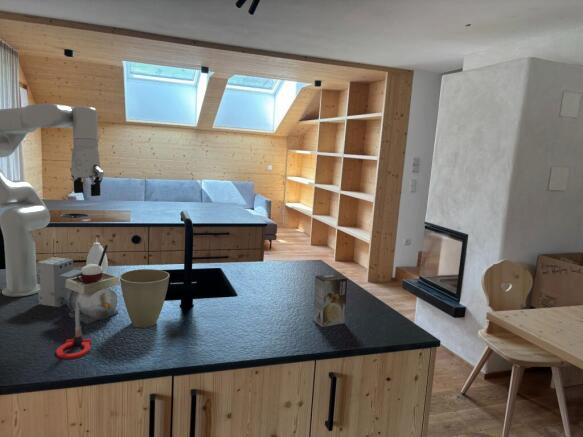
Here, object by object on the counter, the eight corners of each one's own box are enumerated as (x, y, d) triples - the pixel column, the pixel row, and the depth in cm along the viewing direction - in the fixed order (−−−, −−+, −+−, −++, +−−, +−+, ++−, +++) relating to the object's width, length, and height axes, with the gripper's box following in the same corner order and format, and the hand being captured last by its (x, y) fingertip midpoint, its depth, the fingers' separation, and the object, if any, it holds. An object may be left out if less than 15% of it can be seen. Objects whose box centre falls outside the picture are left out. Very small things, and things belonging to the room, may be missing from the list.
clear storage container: (61, 315, 143) (60, 278, 141) (97, 304, 154) (97, 269, 152) (90, 327, 135) (89, 288, 133) (126, 314, 146) (125, 278, 144)
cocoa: (76, 287, 139) (73, 251, 137) (79, 280, 145) (76, 245, 142) (109, 284, 142) (106, 249, 140) (110, 278, 148) (108, 244, 145)
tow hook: (84, 360, 117) (95, 342, 126) (82, 315, 114) (93, 300, 123) (51, 360, 116) (64, 343, 125) (48, 315, 113) (61, 300, 122)
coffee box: (334, 316, 154) (337, 272, 152) (345, 323, 149) (348, 278, 146) (312, 320, 150) (315, 275, 148) (321, 327, 145) (325, 280, 142)
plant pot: (149, 336, 131) (149, 285, 129) (109, 327, 136) (108, 277, 134) (178, 319, 145) (178, 272, 142) (141, 311, 150) (141, 266, 147)
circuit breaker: (75, 309, 149) (73, 266, 146) (38, 304, 152) (36, 262, 149) (89, 301, 156) (88, 261, 154) (54, 297, 159) (52, 256, 156)
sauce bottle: (94, 275, 185) (93, 234, 182) (111, 277, 184) (110, 235, 181) (82, 281, 178) (81, 237, 175) (100, 283, 177) (100, 239, 174)
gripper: (60, 142, 150) (62, 192, 153) (91, 145, 141) (92, 197, 144) (81, 143, 156) (82, 191, 159) (111, 145, 147) (112, 196, 150)
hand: (87, 194), depth 151 cm, fingers open, 9 cm apart
